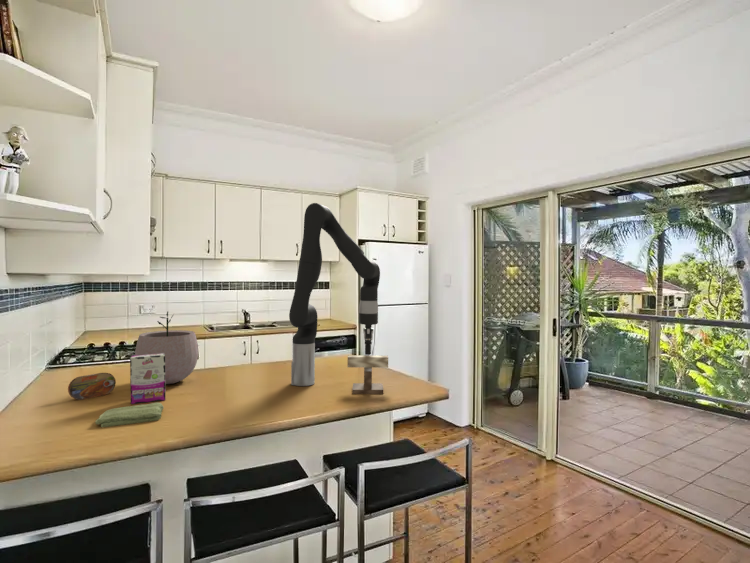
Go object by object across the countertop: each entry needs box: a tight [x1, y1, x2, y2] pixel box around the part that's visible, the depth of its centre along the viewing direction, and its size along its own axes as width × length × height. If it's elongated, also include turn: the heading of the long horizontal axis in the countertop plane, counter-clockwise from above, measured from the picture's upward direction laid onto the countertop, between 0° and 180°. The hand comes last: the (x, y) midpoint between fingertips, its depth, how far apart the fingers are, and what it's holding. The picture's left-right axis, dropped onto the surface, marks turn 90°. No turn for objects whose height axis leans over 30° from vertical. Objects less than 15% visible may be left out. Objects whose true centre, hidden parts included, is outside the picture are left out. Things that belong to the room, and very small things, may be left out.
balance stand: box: [351, 367, 384, 395], centre depth 171 cm, size 12×10×10 cm
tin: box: [67, 372, 117, 401], centre depth 159 cm, size 15×3×8 cm, turn 143°
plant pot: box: [134, 311, 199, 385], centre depth 180 cm, size 24×24×30 cm
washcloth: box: [95, 402, 164, 428], centre depth 135 cm, size 13×18×3 cm
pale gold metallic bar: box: [347, 354, 389, 369], centre depth 171 cm, size 16×4×4 cm, turn 91°
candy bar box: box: [129, 353, 166, 405], centre depth 154 cm, size 11×5×16 cm, turn 118°
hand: (367, 352), depth 171 cm, fingers open, 8 cm apart
